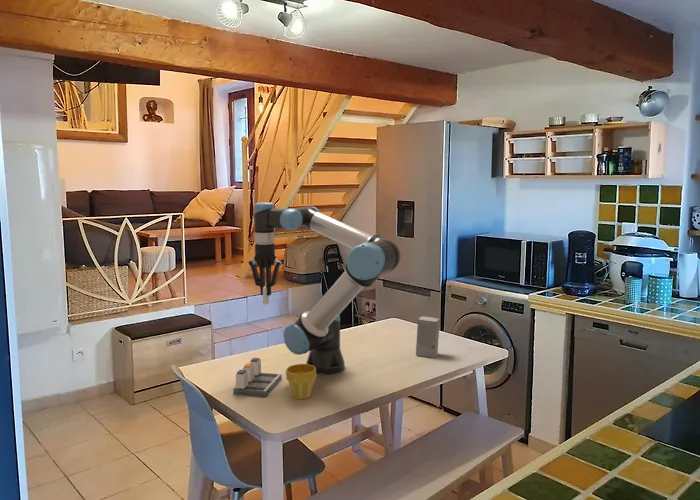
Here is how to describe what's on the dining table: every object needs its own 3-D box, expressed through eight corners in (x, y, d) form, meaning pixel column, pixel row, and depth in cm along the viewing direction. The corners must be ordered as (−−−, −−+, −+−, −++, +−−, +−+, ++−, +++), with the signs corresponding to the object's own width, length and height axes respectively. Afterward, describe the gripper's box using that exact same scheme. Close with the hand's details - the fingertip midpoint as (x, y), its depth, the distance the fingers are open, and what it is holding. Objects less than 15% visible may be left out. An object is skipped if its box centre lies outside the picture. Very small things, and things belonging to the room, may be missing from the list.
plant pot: (286, 390, 198) (286, 363, 197) (316, 389, 199) (315, 362, 198) (286, 402, 188) (285, 374, 187) (316, 401, 189) (316, 373, 188)
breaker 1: (248, 385, 197) (247, 369, 196) (244, 388, 194) (243, 373, 193) (240, 384, 198) (239, 369, 197) (236, 388, 194) (235, 372, 194)
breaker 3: (261, 372, 210) (260, 357, 209) (257, 375, 206) (257, 360, 206) (253, 371, 210) (253, 357, 210) (250, 374, 207) (249, 360, 206)
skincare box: (415, 355, 235) (416, 319, 233) (420, 350, 242) (420, 315, 239) (435, 358, 232) (436, 321, 230) (439, 353, 238) (440, 317, 236)
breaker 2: (254, 378, 203) (254, 363, 203) (251, 381, 200) (250, 366, 199) (246, 377, 204) (246, 363, 203) (243, 381, 201) (242, 366, 200)
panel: (281, 379, 209) (281, 373, 208) (265, 397, 192) (265, 391, 192) (251, 376, 211) (251, 371, 211) (233, 394, 195) (233, 388, 194)
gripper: (284, 242, 215) (285, 302, 218) (252, 241, 218) (253, 300, 221) (277, 244, 208) (279, 306, 211) (244, 244, 210) (246, 305, 214)
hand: (266, 303), depth 216 cm, fingers closed
